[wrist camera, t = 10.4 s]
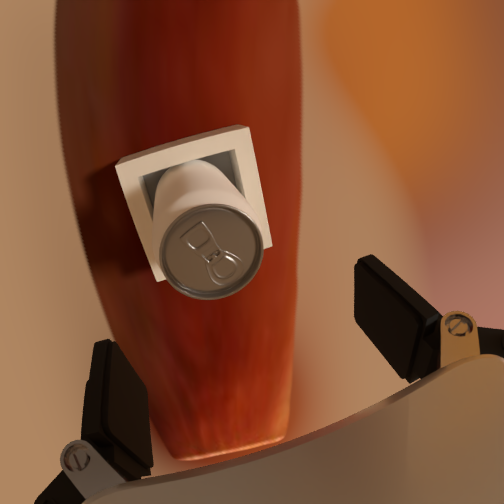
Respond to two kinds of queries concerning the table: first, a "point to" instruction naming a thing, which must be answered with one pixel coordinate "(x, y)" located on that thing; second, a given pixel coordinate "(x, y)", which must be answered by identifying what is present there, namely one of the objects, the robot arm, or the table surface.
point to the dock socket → (183, 150)
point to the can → (204, 232)
